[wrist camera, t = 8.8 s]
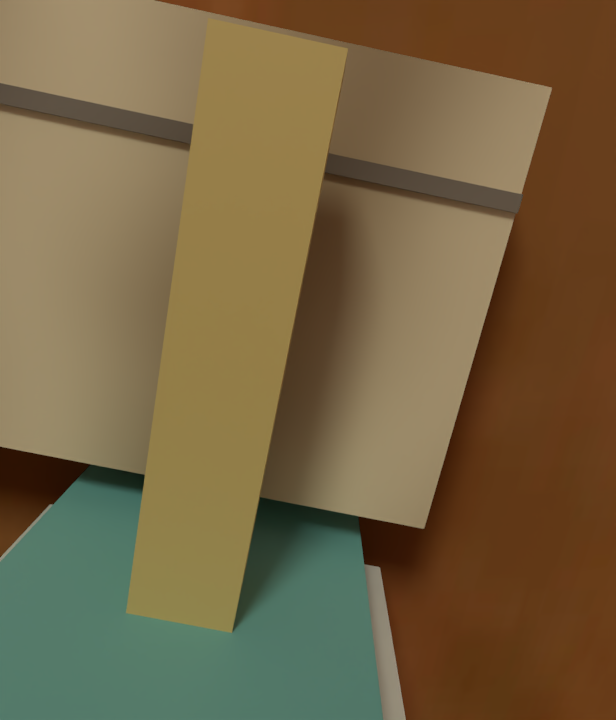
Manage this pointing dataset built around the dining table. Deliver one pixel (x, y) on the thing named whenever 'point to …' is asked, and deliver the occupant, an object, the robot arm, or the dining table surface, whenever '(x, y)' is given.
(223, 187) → the teal boxy piece
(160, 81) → the plank
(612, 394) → the dining table surface
